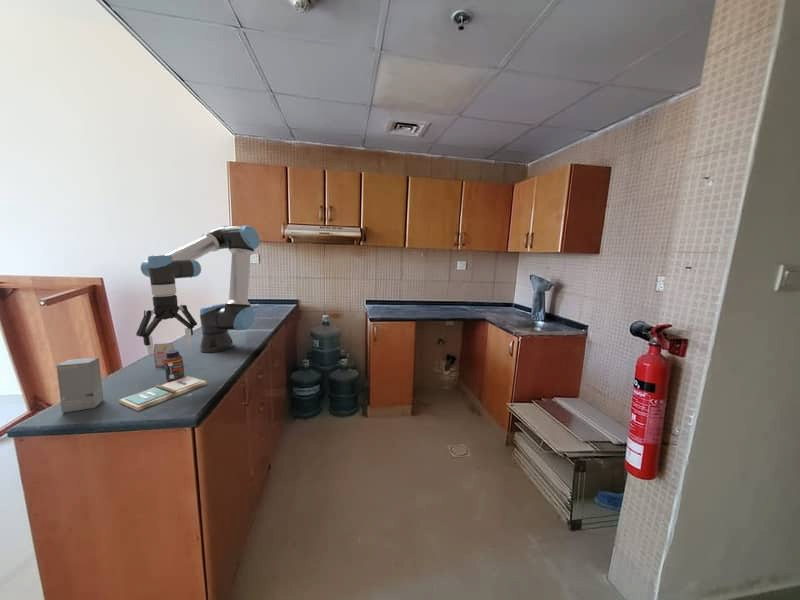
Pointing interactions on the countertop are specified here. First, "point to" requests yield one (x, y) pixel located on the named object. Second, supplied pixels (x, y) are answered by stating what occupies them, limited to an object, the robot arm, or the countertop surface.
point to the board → (163, 398)
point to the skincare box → (80, 384)
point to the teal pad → (147, 396)
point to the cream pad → (181, 383)
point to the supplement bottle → (174, 365)
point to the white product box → (161, 352)
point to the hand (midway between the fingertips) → (171, 348)
